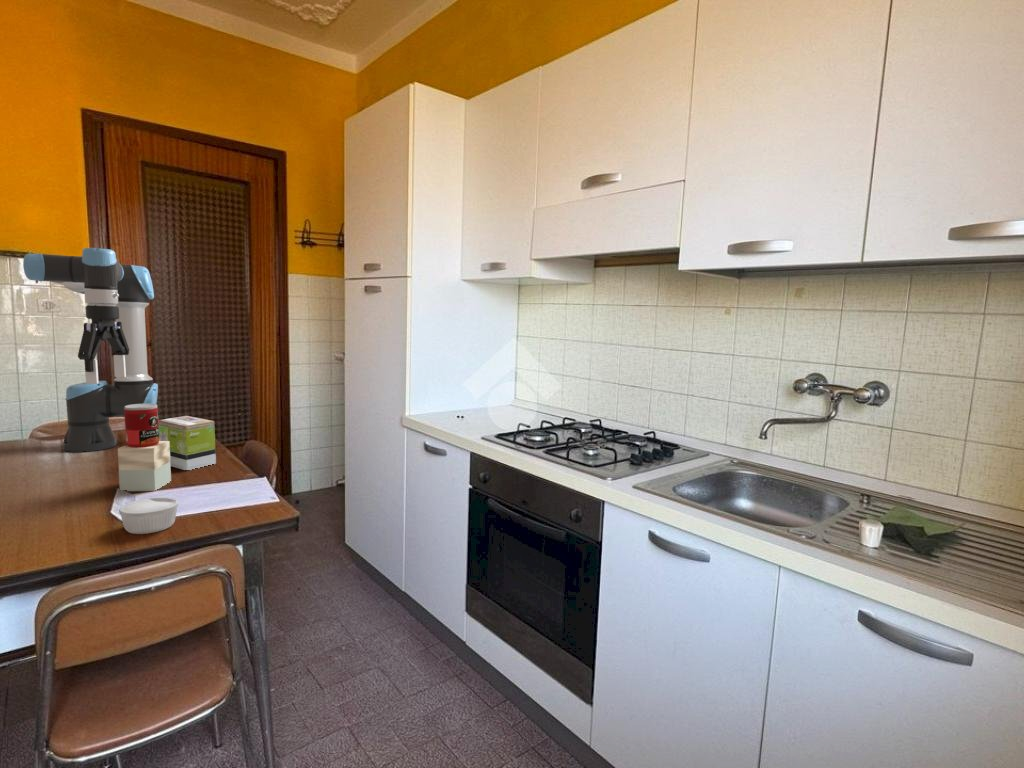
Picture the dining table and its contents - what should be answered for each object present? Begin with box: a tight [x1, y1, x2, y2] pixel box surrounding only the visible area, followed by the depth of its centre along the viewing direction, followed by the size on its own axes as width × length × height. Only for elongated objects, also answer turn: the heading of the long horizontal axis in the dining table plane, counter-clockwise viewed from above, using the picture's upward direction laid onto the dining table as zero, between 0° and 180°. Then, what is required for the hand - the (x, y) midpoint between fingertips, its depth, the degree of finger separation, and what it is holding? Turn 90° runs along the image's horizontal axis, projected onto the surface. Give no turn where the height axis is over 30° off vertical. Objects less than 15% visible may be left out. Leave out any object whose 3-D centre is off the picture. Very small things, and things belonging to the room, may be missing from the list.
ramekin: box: [118, 497, 179, 535], centre depth 126 cm, size 11×11×5 cm
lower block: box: [118, 462, 172, 492], centre depth 155 cm, size 9×9×6 cm
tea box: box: [158, 415, 217, 471], centre depth 177 cm, size 15×10×15 cm
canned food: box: [124, 403, 159, 447], centre depth 153 cm, size 8×8×11 cm
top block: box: [117, 441, 170, 471], centre depth 154 cm, size 9×9×6 cm
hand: (106, 380), depth 157 cm, fingers open, 13 cm apart
